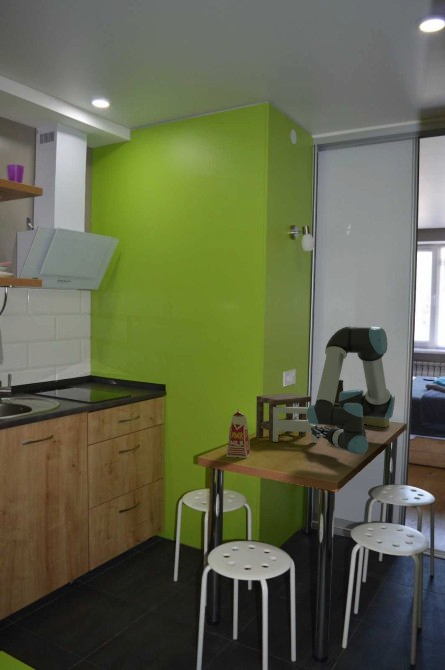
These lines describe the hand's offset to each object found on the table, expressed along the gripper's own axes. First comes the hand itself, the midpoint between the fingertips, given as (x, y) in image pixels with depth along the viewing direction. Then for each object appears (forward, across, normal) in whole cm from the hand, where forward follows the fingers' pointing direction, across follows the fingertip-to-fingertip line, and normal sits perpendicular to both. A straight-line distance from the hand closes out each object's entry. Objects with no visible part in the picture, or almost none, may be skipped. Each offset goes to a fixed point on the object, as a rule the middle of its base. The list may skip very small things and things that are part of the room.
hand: (310, 427), depth 241 cm
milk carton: (-3, -37, -9) cm, 38 cm away
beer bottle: (+47, +46, -9) cm, 66 cm away
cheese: (+36, +57, -9) cm, 68 cm away
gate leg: (+9, -3, -8) cm, 13 cm away
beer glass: (+57, +23, -9) cm, 62 cm away
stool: (+22, -2, -9) cm, 24 cm away
